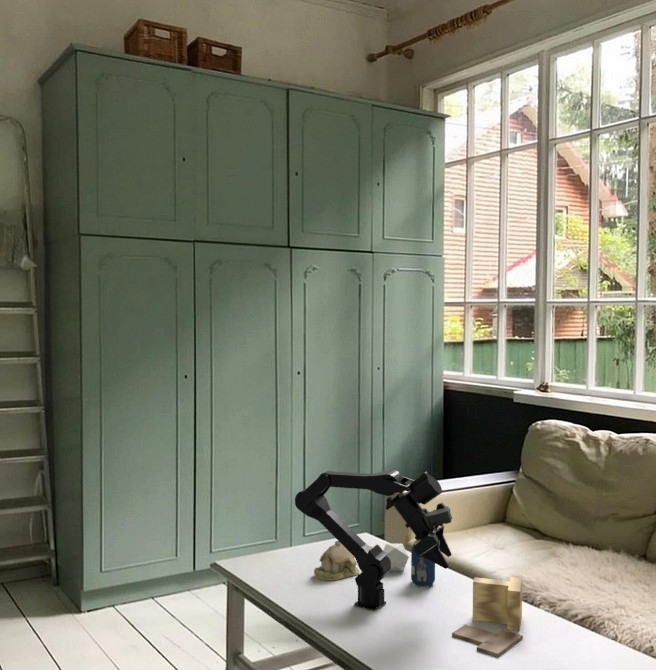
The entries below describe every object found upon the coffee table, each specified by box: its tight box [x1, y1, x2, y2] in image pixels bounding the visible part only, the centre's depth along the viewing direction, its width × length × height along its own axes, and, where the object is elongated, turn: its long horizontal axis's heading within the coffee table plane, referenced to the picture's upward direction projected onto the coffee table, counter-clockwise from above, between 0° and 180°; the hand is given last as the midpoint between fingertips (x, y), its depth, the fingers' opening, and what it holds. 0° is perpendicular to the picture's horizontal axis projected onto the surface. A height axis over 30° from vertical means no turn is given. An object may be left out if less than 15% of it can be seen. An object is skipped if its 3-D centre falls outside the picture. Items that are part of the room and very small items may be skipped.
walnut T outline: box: [451, 624, 524, 658], centre depth 187 cm, size 14×13×1 cm
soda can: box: [410, 540, 436, 588], centre depth 225 cm, size 7×7×12 cm
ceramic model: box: [313, 540, 360, 581], centre depth 233 cm, size 14×11×10 cm
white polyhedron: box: [382, 543, 410, 572], centre depth 237 cm, size 8×9×10 cm
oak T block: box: [472, 576, 523, 632], centre depth 199 cm, size 12×10×10 cm
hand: (448, 561), depth 202 cm, fingers open, 9 cm apart
